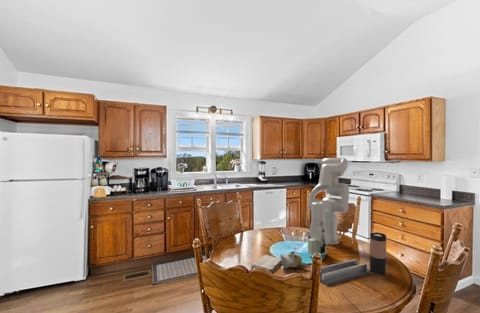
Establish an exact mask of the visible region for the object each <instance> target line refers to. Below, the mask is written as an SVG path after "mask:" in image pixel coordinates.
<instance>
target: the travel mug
mask: <svg viewBox="0 0 480 313" xmlns="http://www.w3.org/2000/svg"><path fill="white" fill-rule="evenodd" d="M386 263H387V234H386V233H383V232H382V233H381V232H370V233H369V270H370V271H371V274H374V275H376V276H377V275H378V276H385V275H386V266H387V264H386Z"/></svg>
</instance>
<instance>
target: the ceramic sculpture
mask: <svg viewBox="0 0 480 313" xmlns="http://www.w3.org/2000/svg"><path fill="white" fill-rule="evenodd" d="M280 258H281V262H282V263H281V265H282V267H283V268H284V269H286V270H287V269H289V268H297V267H298V268H300V269H307V268H309V267H310V265H308V264H306V263H304V262H303V258H302V257H301V256H300V255H299V253H295V252H294V251H290V252H289V253H288V254H287V255H284V254H281V255H280Z"/></svg>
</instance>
